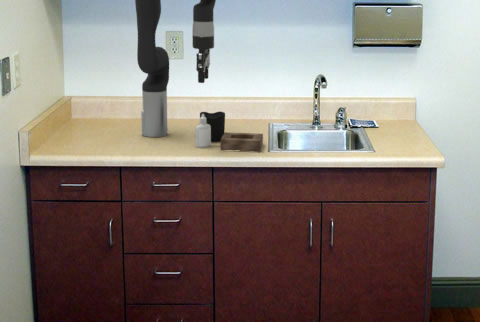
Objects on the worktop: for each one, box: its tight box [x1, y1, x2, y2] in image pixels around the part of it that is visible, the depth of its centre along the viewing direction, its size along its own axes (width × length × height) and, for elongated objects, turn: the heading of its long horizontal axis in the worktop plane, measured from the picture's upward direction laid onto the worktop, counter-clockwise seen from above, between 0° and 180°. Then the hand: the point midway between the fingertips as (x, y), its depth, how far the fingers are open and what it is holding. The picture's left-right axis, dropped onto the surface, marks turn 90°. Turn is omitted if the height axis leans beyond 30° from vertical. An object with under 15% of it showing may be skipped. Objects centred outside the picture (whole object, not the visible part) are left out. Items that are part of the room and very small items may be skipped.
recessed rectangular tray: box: [220, 131, 264, 152], centre depth 279 cm, size 14×11×4 cm
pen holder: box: [199, 111, 226, 143], centre depth 289 cm, size 9×9×10 cm
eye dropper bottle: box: [194, 114, 212, 149], centre depth 278 cm, size 4×6×12 cm
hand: (203, 80), depth 274 cm, fingers open, 8 cm apart
